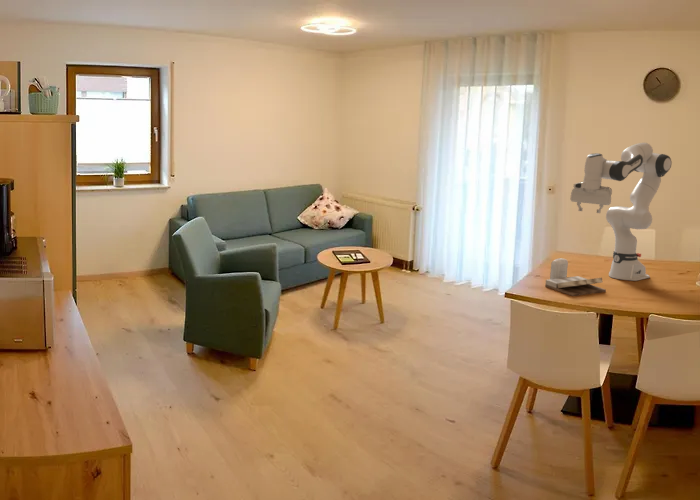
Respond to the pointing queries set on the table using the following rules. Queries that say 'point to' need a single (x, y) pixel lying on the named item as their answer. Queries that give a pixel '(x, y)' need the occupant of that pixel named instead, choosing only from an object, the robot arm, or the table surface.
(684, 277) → the table surface
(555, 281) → the floor section
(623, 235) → the robot arm
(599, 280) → the plank
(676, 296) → the table surface
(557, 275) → the grey arched block
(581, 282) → the plank
